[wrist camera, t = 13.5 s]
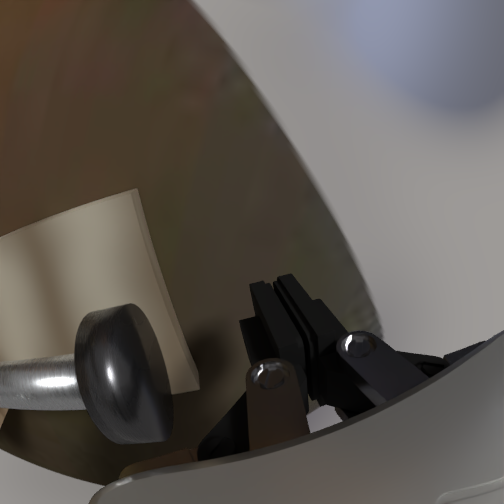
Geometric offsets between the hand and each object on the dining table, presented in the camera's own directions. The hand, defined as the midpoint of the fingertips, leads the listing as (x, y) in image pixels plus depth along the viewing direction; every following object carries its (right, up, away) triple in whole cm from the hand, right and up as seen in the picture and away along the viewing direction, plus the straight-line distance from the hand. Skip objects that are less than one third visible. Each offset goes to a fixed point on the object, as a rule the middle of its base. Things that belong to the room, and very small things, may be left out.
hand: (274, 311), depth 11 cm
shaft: (-12, -3, -1) cm, 13 cm away
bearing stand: (-19, -3, +1) cm, 19 cm away
